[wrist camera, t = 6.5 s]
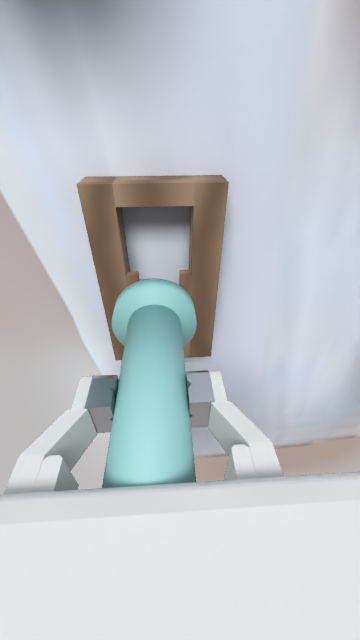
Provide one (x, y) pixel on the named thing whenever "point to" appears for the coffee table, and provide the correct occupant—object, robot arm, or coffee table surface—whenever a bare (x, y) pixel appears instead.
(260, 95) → the coffee table surface
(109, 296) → the keyhole plate
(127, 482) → the peg
